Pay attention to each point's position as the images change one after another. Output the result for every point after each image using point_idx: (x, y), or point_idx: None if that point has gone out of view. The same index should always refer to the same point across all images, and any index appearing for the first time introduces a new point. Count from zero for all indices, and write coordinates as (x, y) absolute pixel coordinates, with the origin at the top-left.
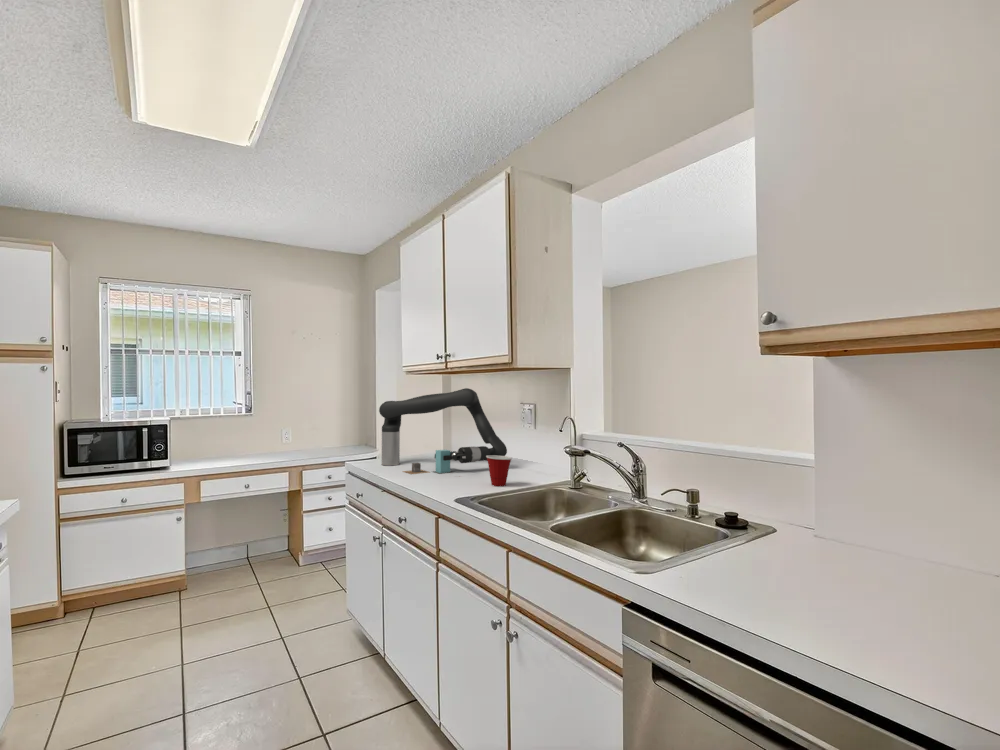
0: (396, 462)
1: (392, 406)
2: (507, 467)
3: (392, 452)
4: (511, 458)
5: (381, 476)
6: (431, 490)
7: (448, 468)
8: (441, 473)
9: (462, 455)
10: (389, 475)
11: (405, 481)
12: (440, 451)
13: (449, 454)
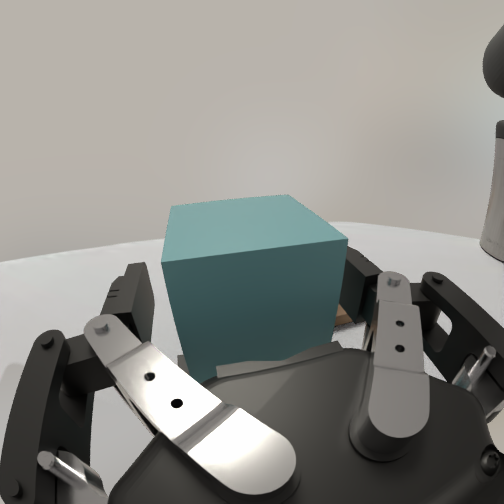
0: (500, 251)
1: (490, 48)
2: None
3: (497, 210)
4: None
5: None
6: (10, 275)
7: None
8: (187, 370)
9: (12, 437)
10: None
11: (153, 254)
12: (176, 207)
13: (173, 310)
